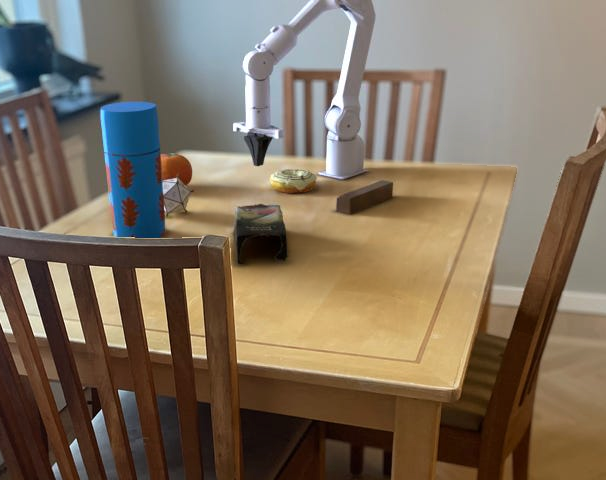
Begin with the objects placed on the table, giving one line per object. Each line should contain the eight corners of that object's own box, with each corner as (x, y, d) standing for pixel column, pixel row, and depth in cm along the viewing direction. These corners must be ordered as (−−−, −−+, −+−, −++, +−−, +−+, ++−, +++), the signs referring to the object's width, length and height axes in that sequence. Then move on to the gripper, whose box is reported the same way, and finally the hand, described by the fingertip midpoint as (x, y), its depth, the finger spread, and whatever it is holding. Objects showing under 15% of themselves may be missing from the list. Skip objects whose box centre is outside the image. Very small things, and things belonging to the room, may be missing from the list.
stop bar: (379, 194, 181) (379, 179, 179) (392, 197, 178) (393, 182, 177) (336, 211, 171) (336, 195, 169) (349, 214, 169) (350, 198, 167)
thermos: (157, 244, 156) (147, 112, 144) (106, 242, 158) (91, 112, 146) (171, 227, 165) (163, 101, 153) (122, 225, 167) (110, 101, 155)
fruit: (176, 197, 184) (174, 162, 180) (140, 192, 189) (137, 158, 185) (201, 185, 192) (199, 152, 188) (166, 181, 197) (164, 148, 193)
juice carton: (232, 229, 162) (232, 200, 159) (280, 228, 162) (281, 199, 159) (234, 266, 145) (234, 234, 141) (288, 265, 145) (289, 232, 142)
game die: (166, 231, 175) (135, 197, 170) (183, 208, 179) (154, 173, 175) (191, 218, 168) (160, 182, 164) (209, 194, 172) (178, 158, 168)
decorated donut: (307, 196, 181) (307, 180, 179) (263, 192, 185) (263, 176, 183) (321, 184, 189) (322, 168, 188) (280, 180, 193) (280, 165, 192)
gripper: (223, 105, 188) (225, 163, 194) (269, 112, 179) (270, 173, 185) (244, 101, 192) (245, 158, 199) (290, 107, 183) (289, 167, 190)
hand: (258, 165), depth 192 cm, fingers closed
